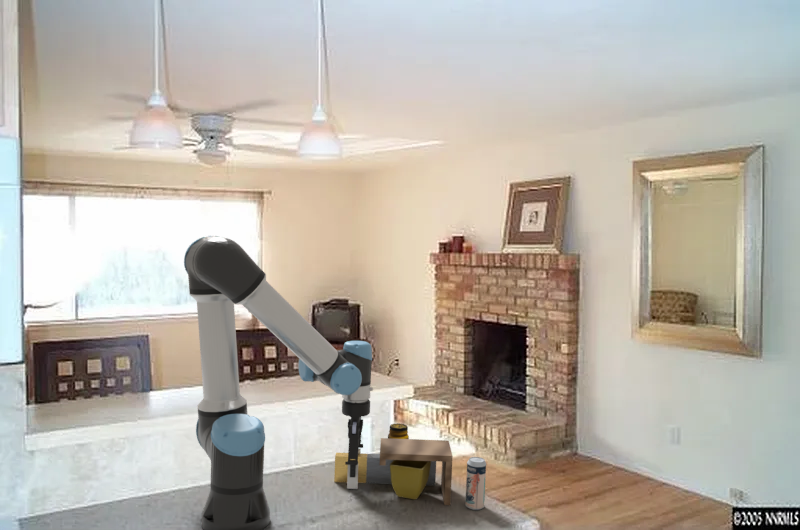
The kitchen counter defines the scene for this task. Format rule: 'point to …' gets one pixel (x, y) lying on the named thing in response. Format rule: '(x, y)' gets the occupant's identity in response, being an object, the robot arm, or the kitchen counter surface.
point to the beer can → (475, 483)
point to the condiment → (398, 431)
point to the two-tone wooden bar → (371, 469)
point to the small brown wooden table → (421, 456)
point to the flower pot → (409, 477)
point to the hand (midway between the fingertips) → (353, 479)
